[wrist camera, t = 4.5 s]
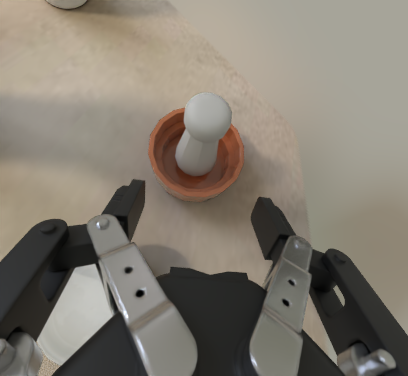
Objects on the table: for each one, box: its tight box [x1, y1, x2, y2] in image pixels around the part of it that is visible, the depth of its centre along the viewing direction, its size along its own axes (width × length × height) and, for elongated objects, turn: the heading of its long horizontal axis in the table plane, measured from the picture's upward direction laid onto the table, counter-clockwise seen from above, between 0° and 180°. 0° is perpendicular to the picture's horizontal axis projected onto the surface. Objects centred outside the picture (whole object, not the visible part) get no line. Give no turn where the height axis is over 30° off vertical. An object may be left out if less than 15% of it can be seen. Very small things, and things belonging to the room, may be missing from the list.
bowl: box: [148, 108, 244, 202], centre depth 26 cm, size 12×12×5 cm
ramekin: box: [37, 264, 112, 366], centre depth 21 cm, size 11×11×5 cm
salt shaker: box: [175, 93, 232, 176], centre depth 22 cm, size 6×6×13 cm
